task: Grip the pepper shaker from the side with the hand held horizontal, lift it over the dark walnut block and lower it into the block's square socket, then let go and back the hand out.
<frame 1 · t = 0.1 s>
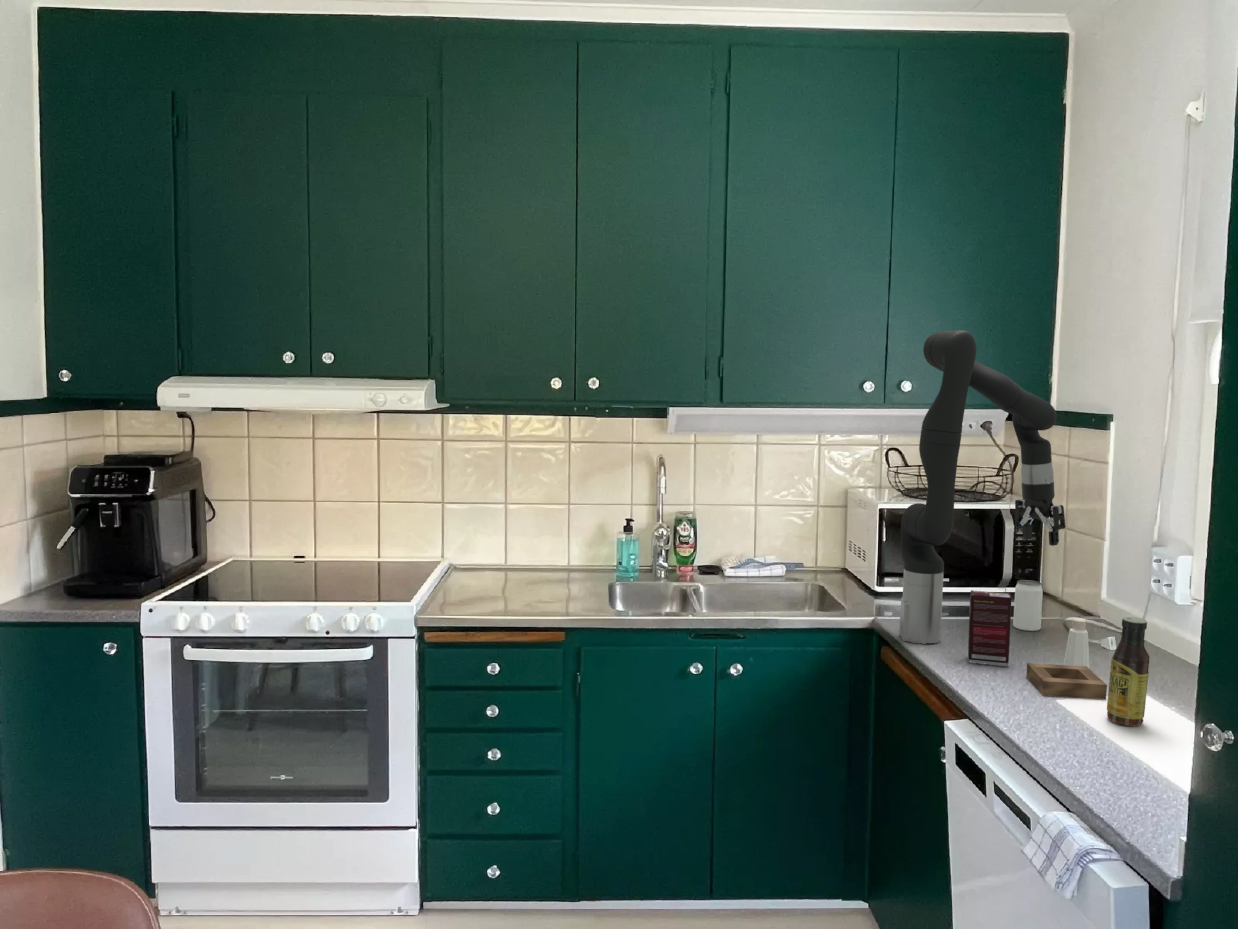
hand: (1040, 542, 237), 22 cm above the worktop, tool pointing down, fingers open, 8 cm apart
pepper shaker: (1076, 668, 206), on the worktop
sauce bottle: (1125, 723, 174), on the worktop
supplement box: (987, 663, 209), on the worktop
can: (1026, 629, 238), on the worktop
socket block: (1064, 687, 193), on the worktop
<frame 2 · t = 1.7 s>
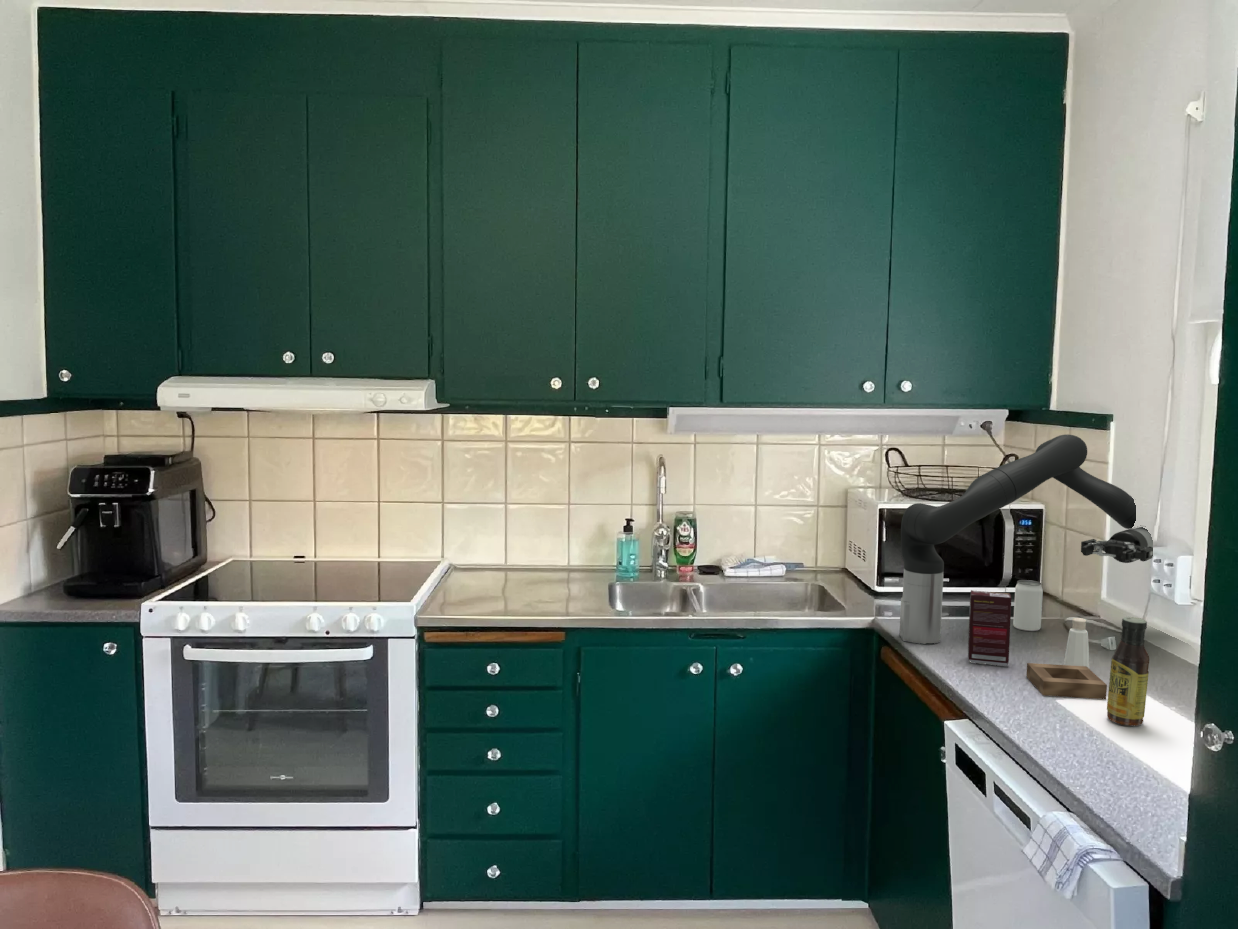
hand: (1104, 554, 211), 24 cm above the worktop, tool horizontal, fingers open, 8 cm apart
nothing on the worktop moved.
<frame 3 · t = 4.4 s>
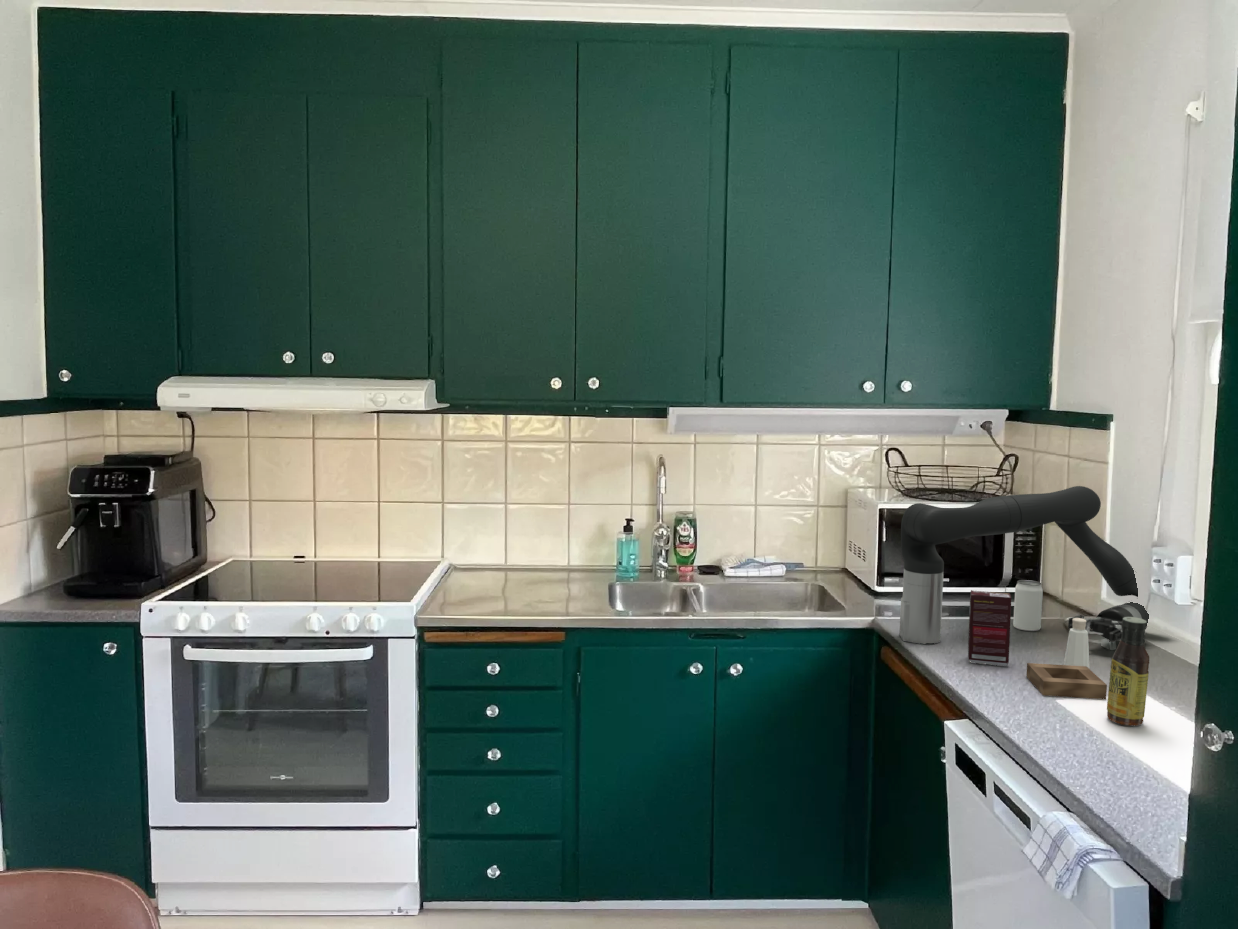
hand: (1091, 633, 211), 6 cm above the worktop, tool horizontal, fingers open, 8 cm apart
nothing on the worktop moved.
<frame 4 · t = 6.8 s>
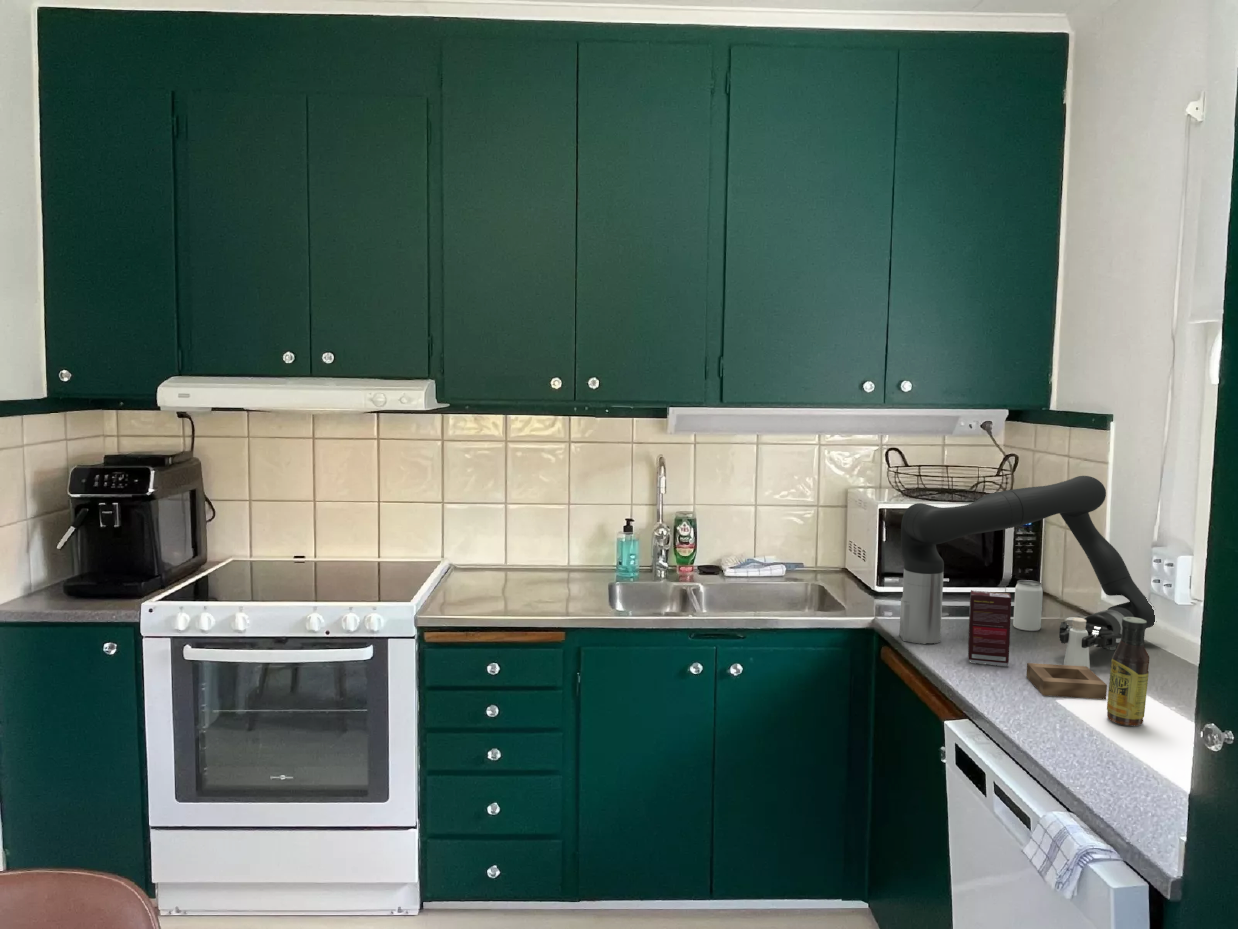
hand: (1073, 641, 204), 7 cm above the worktop, tool horizontal, fingers closed on pepper shaker, 4 cm apart
pepper shaker: (1076, 668, 206), on the worktop, touching gripper
everything else where it was.
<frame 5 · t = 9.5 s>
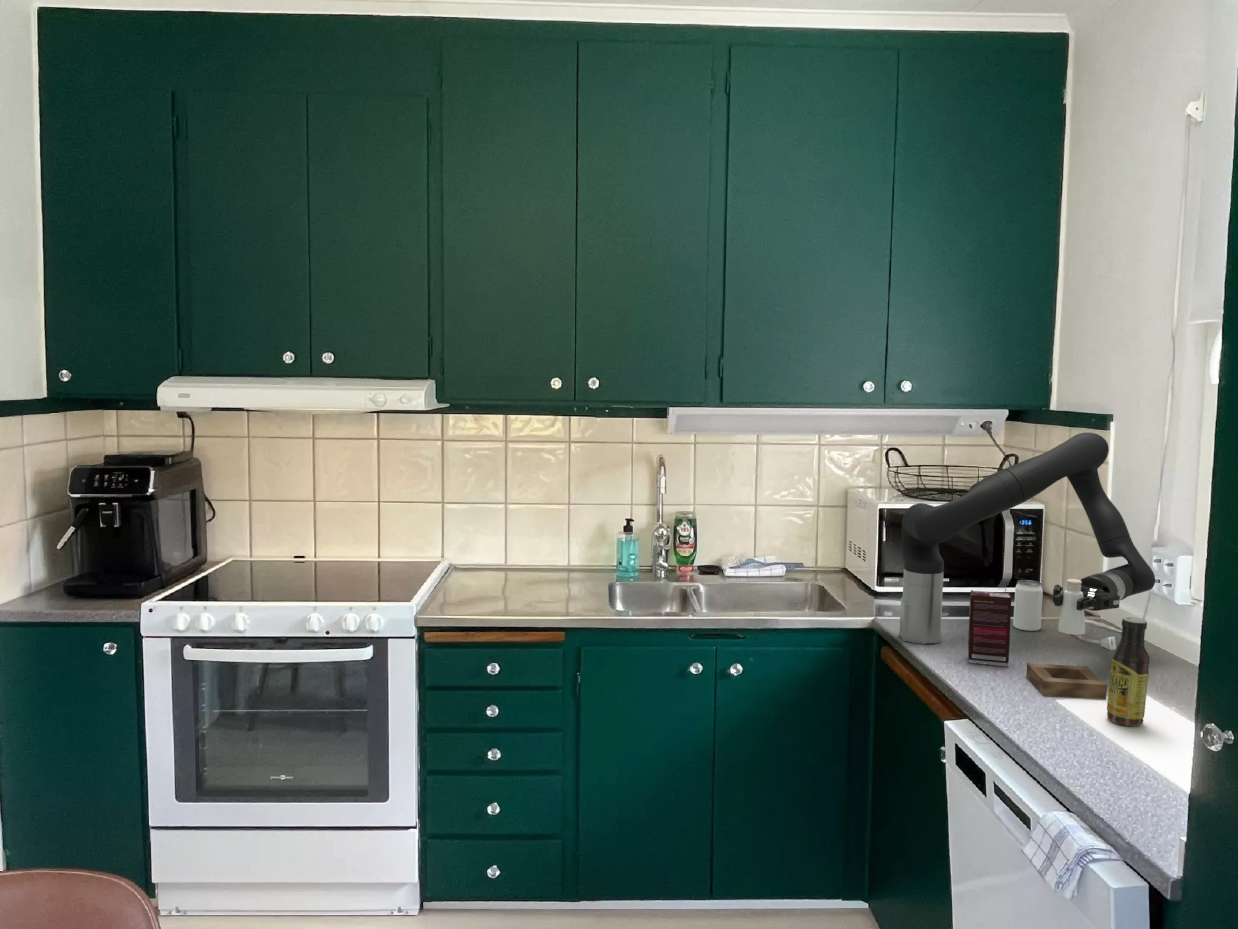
hand: (1067, 603, 192), 18 cm above the worktop, tool horizontal, fingers closed on pepper shaker, 4 cm apart
pepper shaker: (1071, 632, 194), point 11 cm above the worktop, touching gripper
everything else where it was.
when the fingers open (9 cm above the worktop, at t = 12.3 s): pepper shaker drops 2 cm, resting in socket block.
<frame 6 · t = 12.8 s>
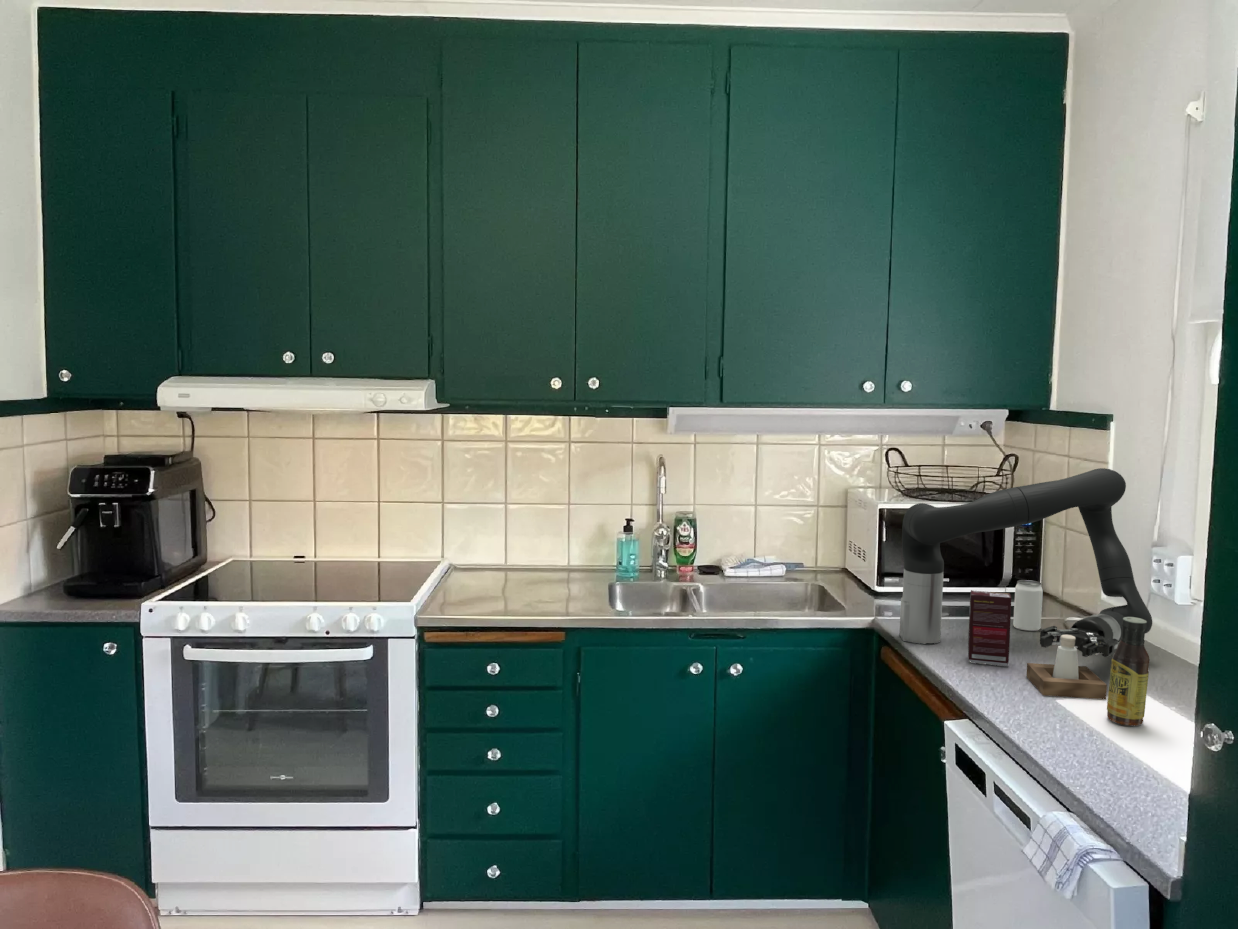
hand: (1063, 647, 191), 9 cm above the worktop, tool horizontal, fingers open, 8 cm apart
pepper shaker: (1064, 688, 193), resting in socket block
everything else where it was.
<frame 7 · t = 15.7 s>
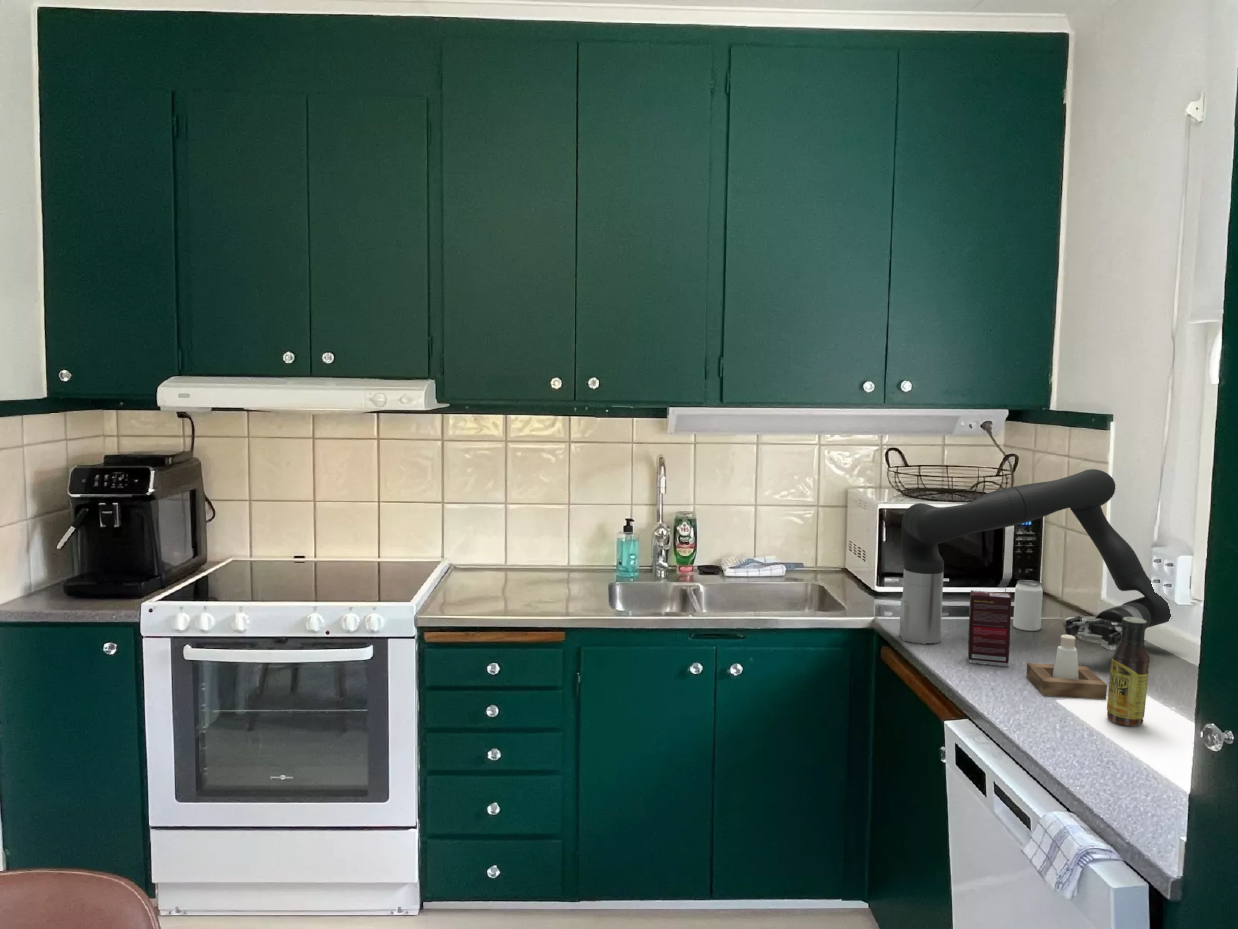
hand: (1089, 636, 199), 9 cm above the worktop, tool horizontal, fingers open, 8 cm apart
nothing on the worktop moved.
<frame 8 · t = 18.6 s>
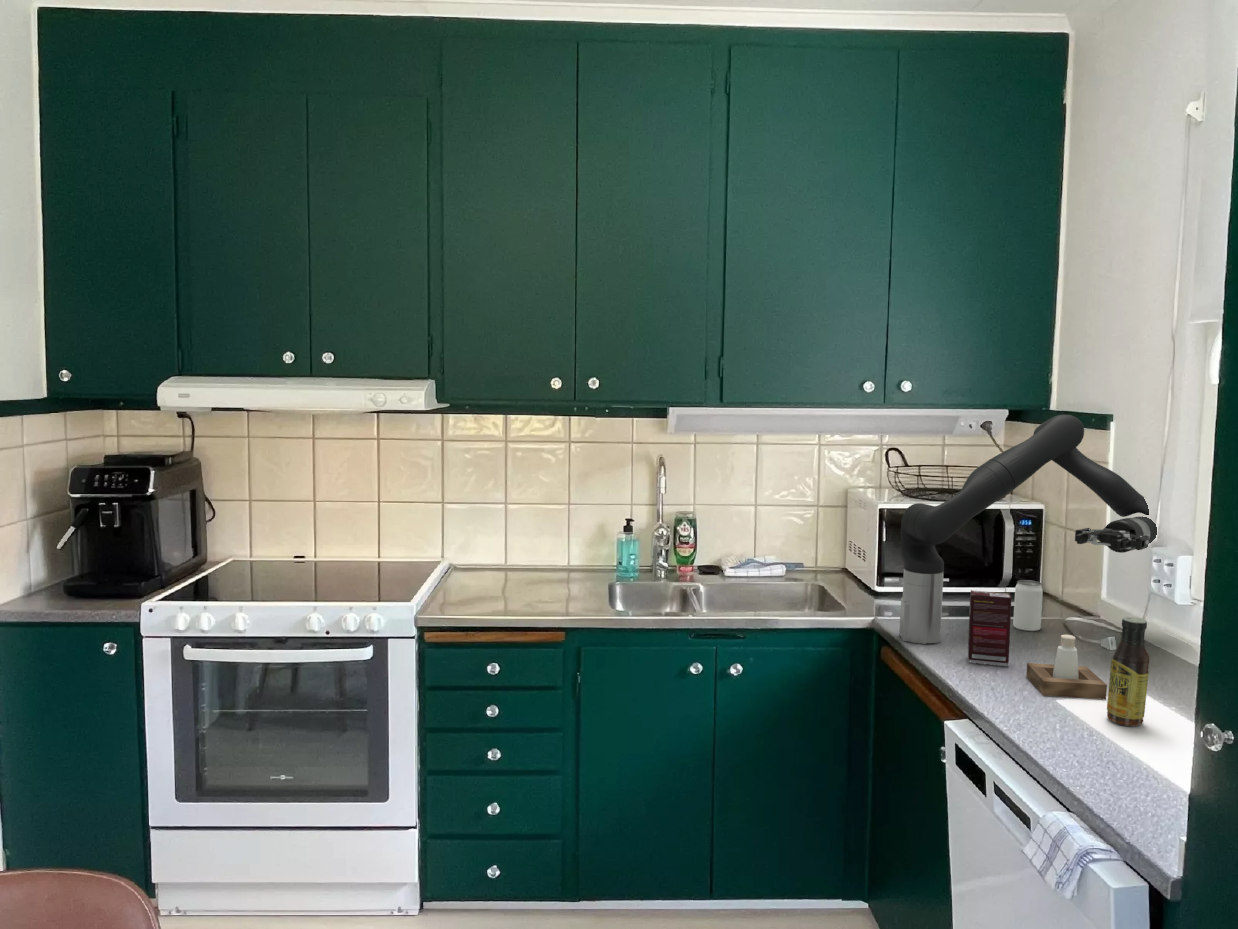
hand: (1098, 542, 206), 28 cm above the worktop, tool horizontal, fingers open, 8 cm apart
nothing on the worktop moved.
at the end: pepper shaker 0.1 cm off-centre on the socket block, point 0.0 cm above the socket block's base; pepper shaker tilted 0°; the gripper is holding nothing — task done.
